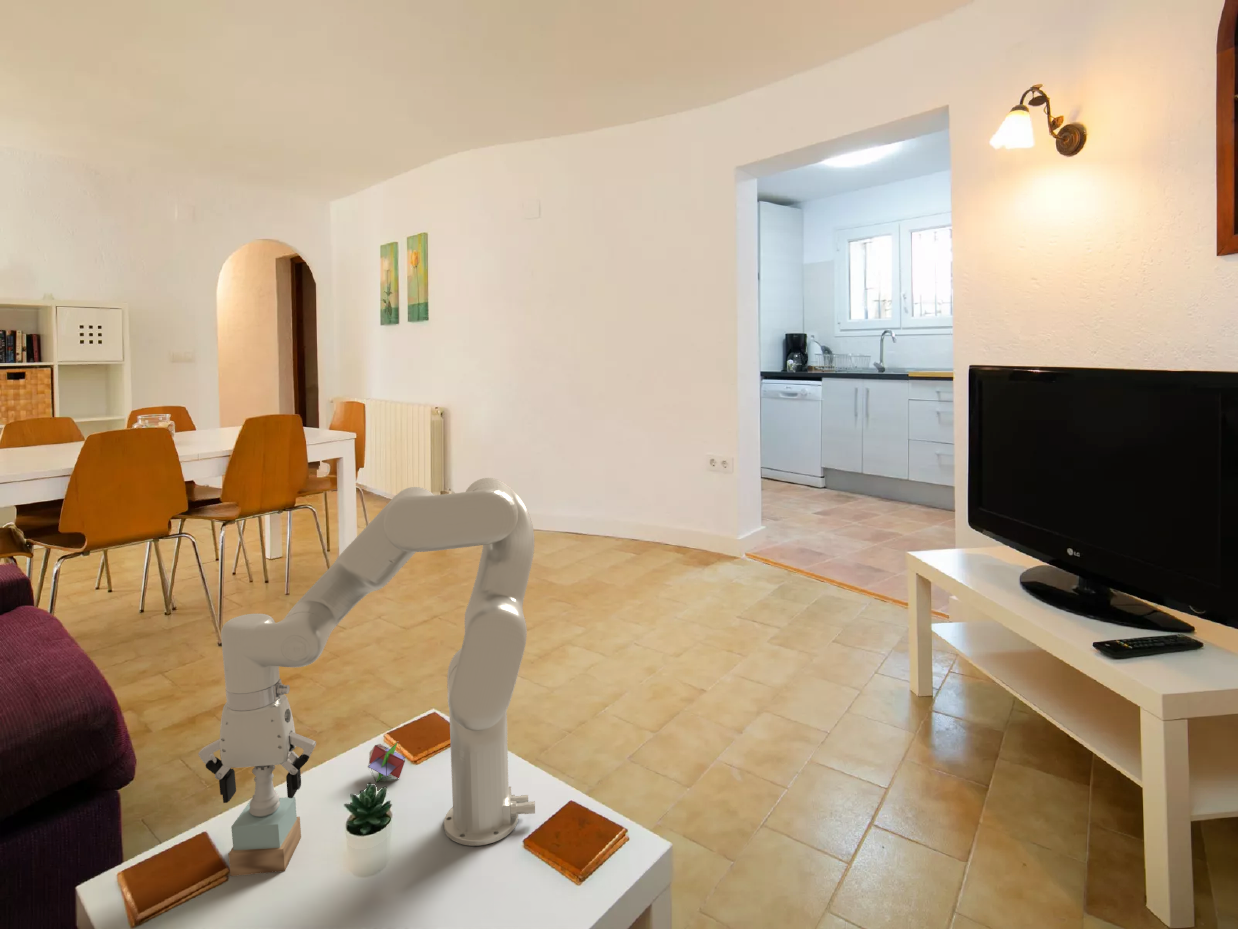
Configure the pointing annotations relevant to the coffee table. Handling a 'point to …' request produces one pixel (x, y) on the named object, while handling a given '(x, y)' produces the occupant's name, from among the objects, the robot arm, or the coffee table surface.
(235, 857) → the tower base
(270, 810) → the rook chess piece
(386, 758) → the geometric puzzle
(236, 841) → the tower top
